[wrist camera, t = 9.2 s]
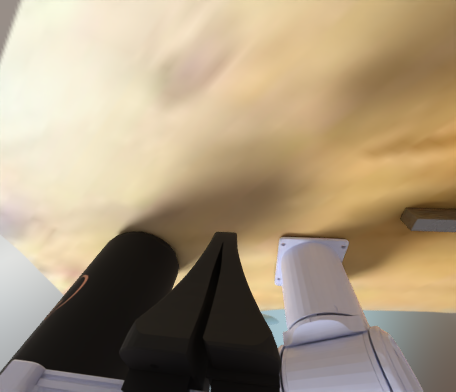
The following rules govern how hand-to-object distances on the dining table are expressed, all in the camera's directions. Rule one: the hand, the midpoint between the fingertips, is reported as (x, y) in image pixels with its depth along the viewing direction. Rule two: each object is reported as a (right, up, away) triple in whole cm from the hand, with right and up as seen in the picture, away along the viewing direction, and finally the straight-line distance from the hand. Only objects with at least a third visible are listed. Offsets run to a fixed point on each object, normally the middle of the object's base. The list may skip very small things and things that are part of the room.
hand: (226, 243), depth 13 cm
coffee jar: (-12, -6, +17) cm, 21 cm away
